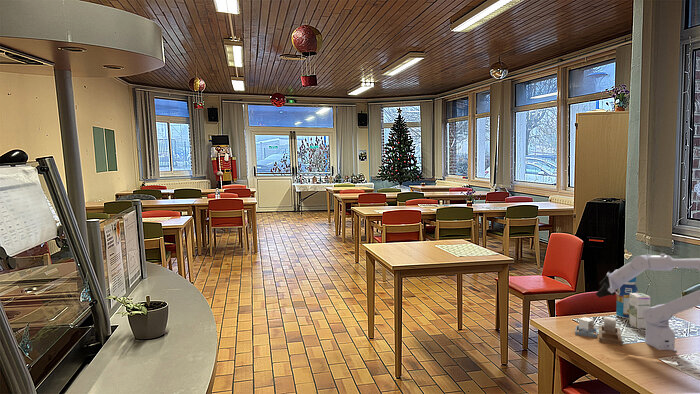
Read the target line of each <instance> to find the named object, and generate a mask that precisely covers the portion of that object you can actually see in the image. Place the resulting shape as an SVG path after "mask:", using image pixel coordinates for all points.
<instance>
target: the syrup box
mask: <svg viewBox="0 0 700 394" xmlns="http://www.w3.org/2000/svg"><path fill="white" fill-rule="evenodd" d="M648 307H651V296H650V295H648V294H645V293H643V292H637V293H630V297H629V319H628V324H629V325H631V326H633V327H634V328H635V329H646V320H645V319H644V318H643V311H644V309H646V308H648Z"/></svg>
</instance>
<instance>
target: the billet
mask: <svg viewBox="0 0 700 394" xmlns="http://www.w3.org/2000/svg"><path fill="white" fill-rule="evenodd" d="M616 325H617V320H616V318H615V317H609V316H604V317H603V326H604V331H608V332H615V333H616V328H617V327H616Z"/></svg>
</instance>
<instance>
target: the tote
mask: <svg viewBox="0 0 700 394" xmlns="http://www.w3.org/2000/svg"><path fill="white" fill-rule="evenodd" d="M574 333H575V334H574V335H576V336H583V337H589V338H594V339H595V338H596V339H597V338H598V328H595V327H594V334H591V333H584V332H579V325H575V331H574Z"/></svg>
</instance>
